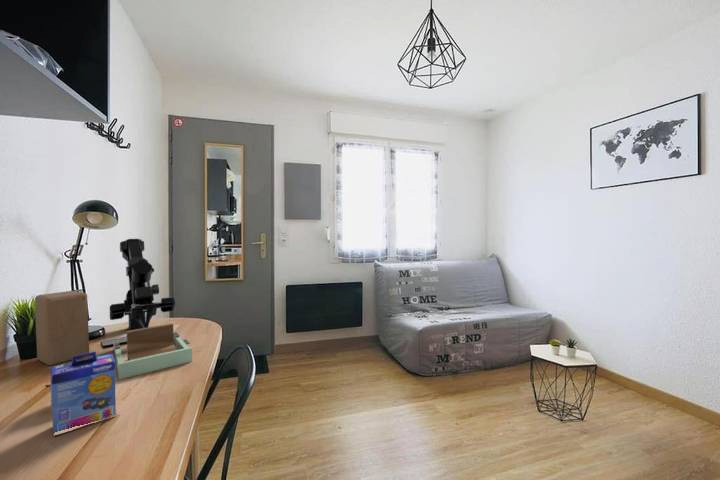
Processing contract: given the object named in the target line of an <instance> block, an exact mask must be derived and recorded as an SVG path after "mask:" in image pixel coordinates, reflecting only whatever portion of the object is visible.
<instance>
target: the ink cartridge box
mask: <svg viewBox="0 0 720 480" xmlns="http://www.w3.org/2000/svg"><path fill="white" fill-rule="evenodd" d="M112 354H113V353H108V354H104V355H100V356H97V351H91V352H90V351H89V353H86V354H81V355H77V356H73V359H72V360H71V362H67V363H60V364H56V365H54V366H52V367H51V370H50V371H51V372H50V385H51V390H50V402H51V404H50V405H51V420H52V422H51V423H52V434H53V433H55V432H58V431H61V430H65V429H69V428H72V427H75V426H80V425H84V424H88V423H91V422H95V421H99V420H103V419H105V418H109V417H111V416H114V415H116V416H117V404H116V359H114V357H113V355H112ZM85 357H87V358H85ZM80 358H81V359H80ZM82 358H83V359H82Z"/></svg>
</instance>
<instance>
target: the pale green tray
mask: <svg viewBox="0 0 720 480" xmlns="http://www.w3.org/2000/svg"><path fill="white" fill-rule="evenodd" d="M173 335H174V346H175V347H176V348H177V350H175V351H171V352H166V353H162V354H157V355H153V356H148V357H143V358H139V359H134V360H130V361H128V360H126V361H124V358H123V355H122V350H121V345H120V342H119V340H118V339H116V340H115V339H114V340H113V342H112V344H113V353H111V354H112V355H113V357H114V360H115V365H116V368H117V373H118V379H119V380H122V379H127V378H130V377H134V376H139V375H143V374H146V373H150V372H155V371H159V370H162V369H166V368H170V367H171V368H172V367H174V366H179V365H184V364H188V363H193V347H191V346H190V347H189V346H188V344H189V345H190V342H189V340H188V339H187V338H184V339H182V338H181V336H180V334H179V332H177V331H175V329H173Z"/></svg>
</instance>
